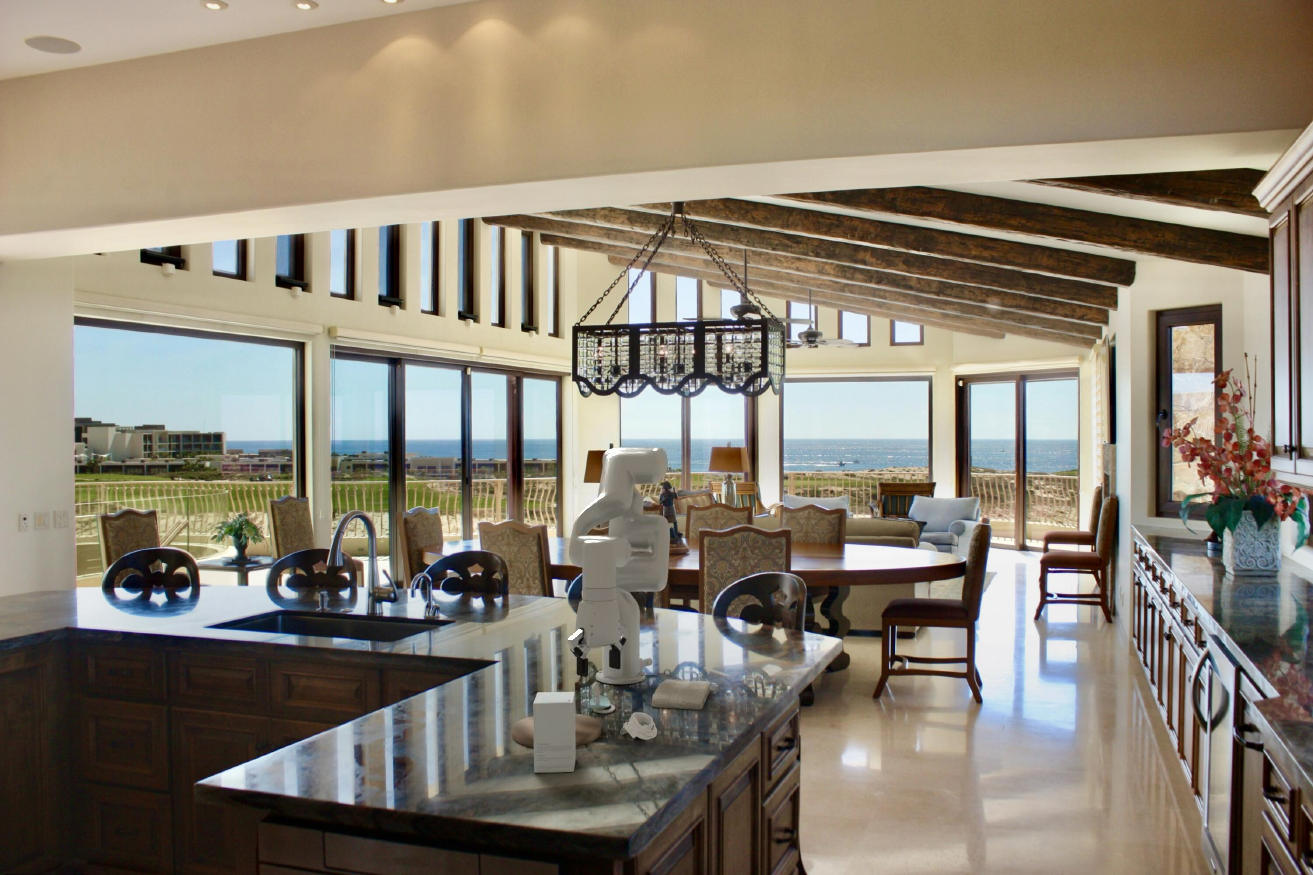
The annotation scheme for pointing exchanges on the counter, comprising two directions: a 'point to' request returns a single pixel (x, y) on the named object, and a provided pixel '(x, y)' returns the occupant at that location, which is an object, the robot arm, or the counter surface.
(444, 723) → the counter surface
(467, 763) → the counter surface
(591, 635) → the robot arm
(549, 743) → the supplement box
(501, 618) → the counter surface
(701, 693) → the washcloth
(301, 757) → the counter surface
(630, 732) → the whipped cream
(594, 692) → the pacifier
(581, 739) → the walnut board
